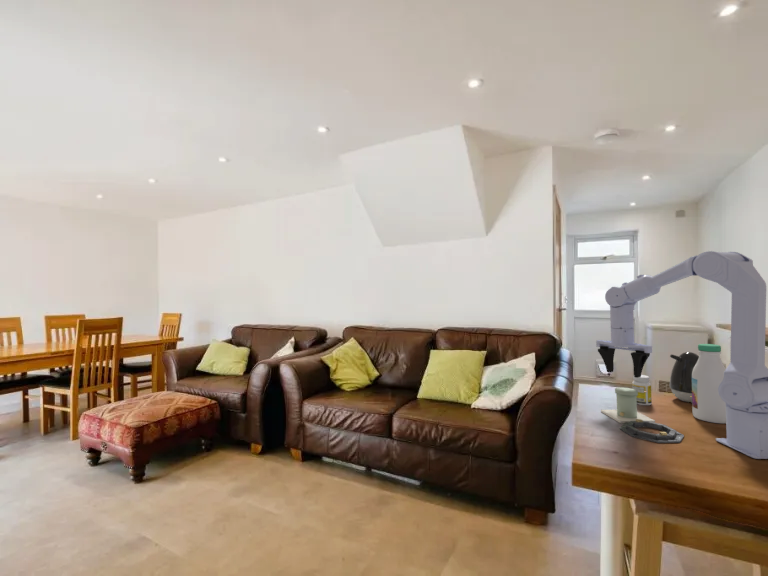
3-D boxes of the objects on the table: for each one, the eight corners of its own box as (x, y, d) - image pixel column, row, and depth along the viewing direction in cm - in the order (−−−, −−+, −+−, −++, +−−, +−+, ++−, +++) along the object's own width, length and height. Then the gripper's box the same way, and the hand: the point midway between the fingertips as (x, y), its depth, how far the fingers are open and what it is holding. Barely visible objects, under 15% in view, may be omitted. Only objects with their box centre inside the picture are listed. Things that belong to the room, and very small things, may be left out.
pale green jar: (631, 420, 96) (631, 394, 96) (611, 415, 101) (610, 389, 101) (642, 415, 99) (642, 390, 99) (622, 410, 104) (621, 386, 104)
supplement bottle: (645, 401, 114) (644, 374, 114) (655, 405, 109) (654, 377, 109) (629, 400, 115) (628, 374, 115) (638, 405, 110) (637, 377, 110)
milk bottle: (737, 421, 95) (735, 345, 96) (720, 426, 93) (718, 347, 93) (703, 412, 103) (701, 341, 103) (686, 416, 100) (684, 343, 100)
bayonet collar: (695, 442, 83) (695, 435, 83) (642, 443, 84) (642, 435, 84) (658, 423, 95) (658, 417, 95) (611, 423, 96) (611, 417, 96)
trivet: (655, 422, 96) (655, 420, 96) (620, 423, 96) (620, 420, 96) (632, 411, 105) (632, 409, 105) (601, 411, 105) (601, 409, 105)
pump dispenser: (662, 395, 119) (660, 349, 119) (698, 396, 118) (696, 349, 118) (682, 405, 109) (680, 354, 109) (721, 406, 107) (720, 355, 108)
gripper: (657, 329, 102) (658, 377, 102) (605, 325, 115) (606, 368, 115) (643, 330, 99) (644, 380, 99) (591, 326, 111) (592, 371, 111)
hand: (623, 374), depth 106 cm, fingers open, 7 cm apart
